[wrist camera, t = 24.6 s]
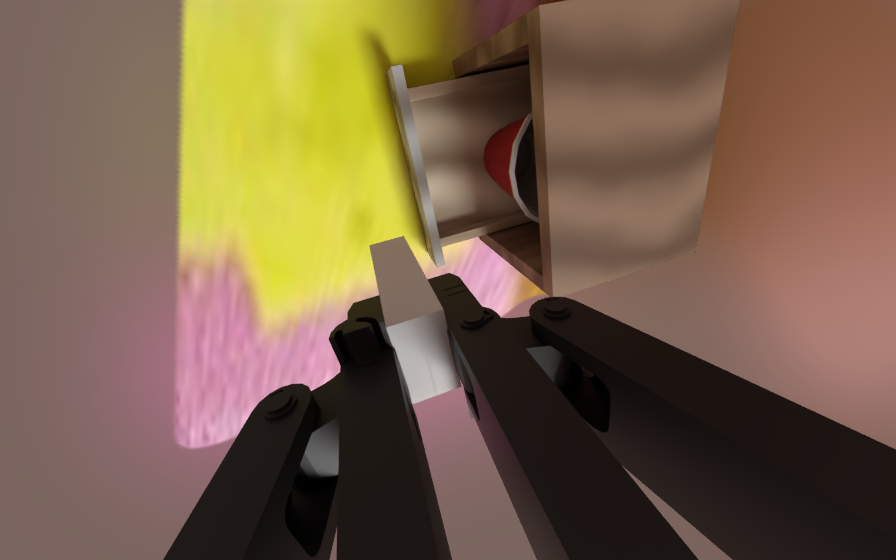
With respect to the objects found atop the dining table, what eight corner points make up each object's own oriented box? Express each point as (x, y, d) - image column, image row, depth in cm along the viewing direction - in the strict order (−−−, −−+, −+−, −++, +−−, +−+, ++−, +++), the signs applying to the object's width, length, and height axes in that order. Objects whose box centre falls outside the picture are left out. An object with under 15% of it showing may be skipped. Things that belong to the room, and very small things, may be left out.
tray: (386, 73, 32) (391, 66, 28) (563, 39, 35) (587, 29, 31) (429, 255, 41) (436, 267, 37) (567, 215, 44) (586, 222, 40)
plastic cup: (561, 173, 40) (637, 188, 30) (486, 219, 40) (536, 250, 29) (532, 80, 35) (612, 59, 24) (446, 133, 35) (489, 134, 24)
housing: (452, 61, 33) (539, 5, 18) (578, 37, 36) (745, -30, 21) (480, 239, 42) (553, 299, 27) (578, 211, 44) (695, 251, 30)
